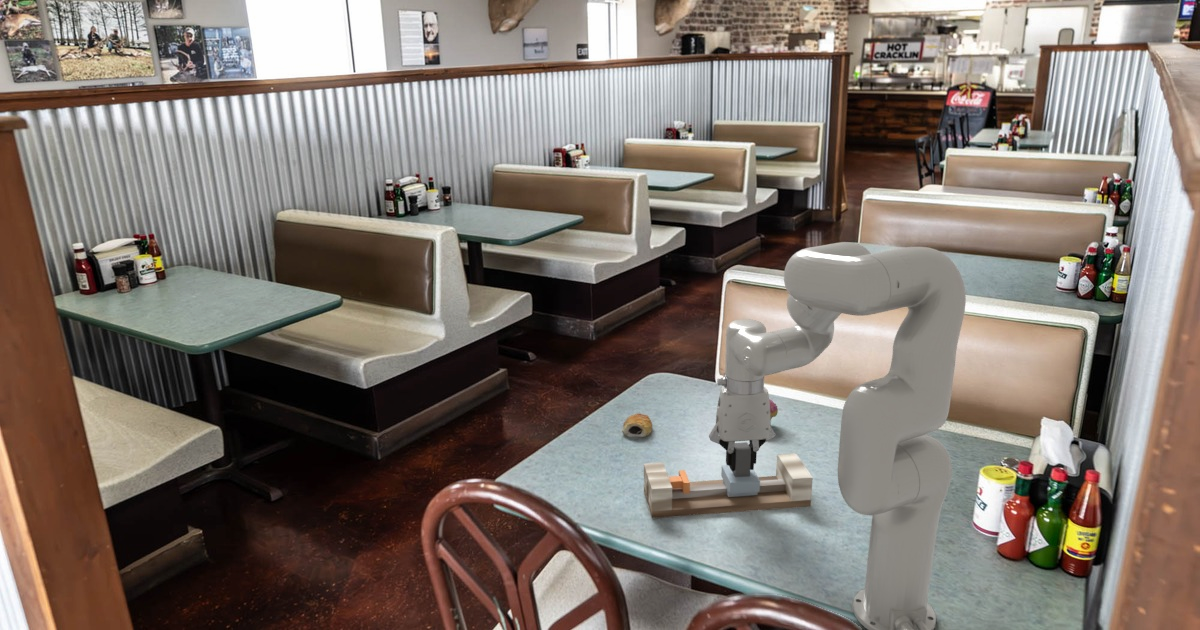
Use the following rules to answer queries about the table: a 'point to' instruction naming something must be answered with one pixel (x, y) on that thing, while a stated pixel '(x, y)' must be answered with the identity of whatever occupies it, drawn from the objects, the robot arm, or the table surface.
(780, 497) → the rail bench
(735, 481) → the carriage
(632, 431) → the pastry
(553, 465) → the table surface
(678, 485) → the button
